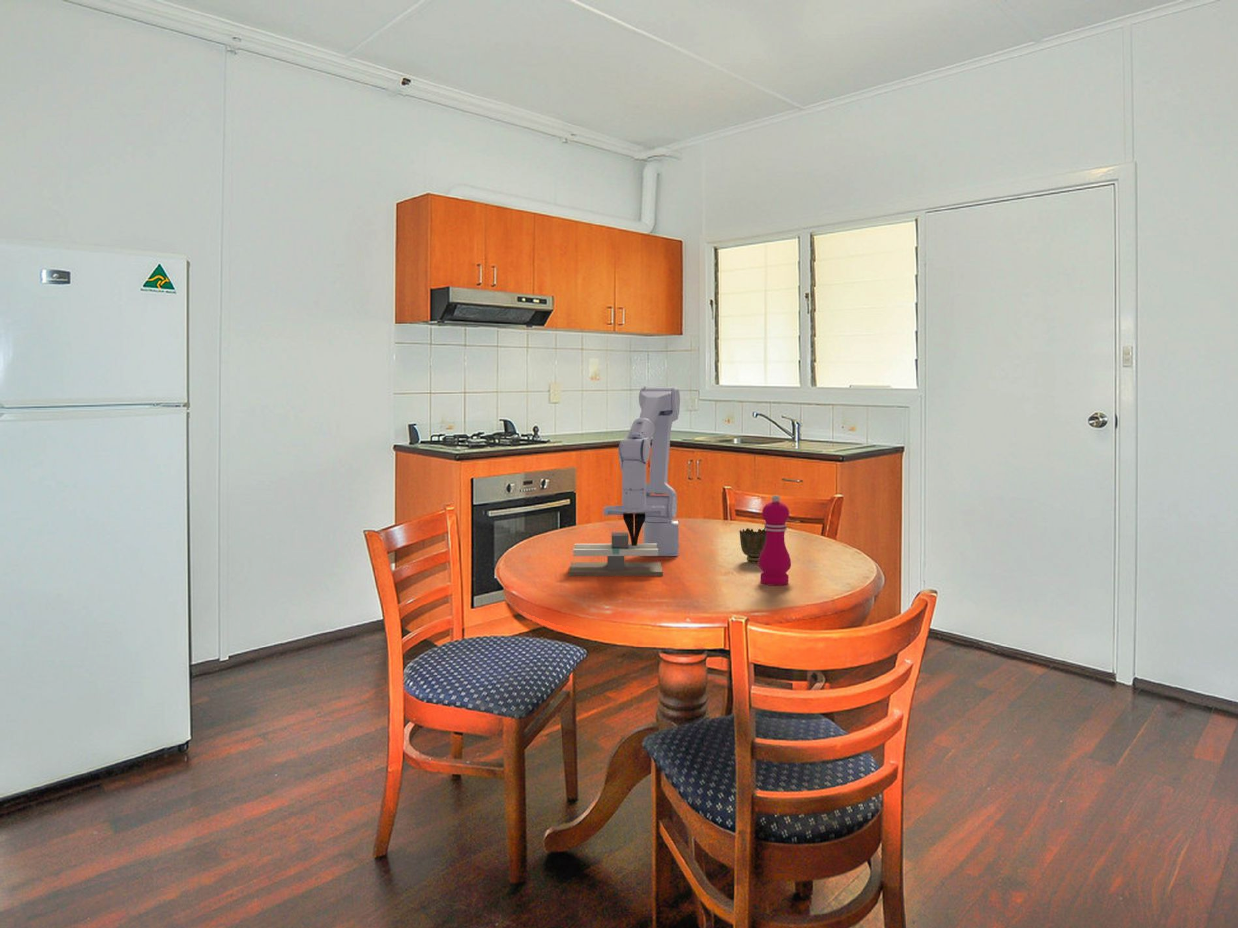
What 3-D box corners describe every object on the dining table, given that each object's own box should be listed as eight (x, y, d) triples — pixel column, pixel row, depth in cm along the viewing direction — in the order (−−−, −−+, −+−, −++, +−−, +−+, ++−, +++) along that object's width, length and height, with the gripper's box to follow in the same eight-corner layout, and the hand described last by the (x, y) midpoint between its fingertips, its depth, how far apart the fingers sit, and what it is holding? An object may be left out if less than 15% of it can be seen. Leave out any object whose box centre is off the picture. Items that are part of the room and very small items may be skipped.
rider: (628, 548, 190) (628, 532, 190) (628, 552, 186) (628, 535, 186) (611, 548, 190) (611, 532, 190) (611, 552, 186) (611, 535, 186)
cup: (770, 559, 200) (771, 528, 199) (766, 566, 193) (767, 534, 192) (741, 557, 203) (742, 527, 202) (736, 563, 196) (737, 532, 195)
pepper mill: (754, 578, 181) (756, 493, 179) (785, 577, 182) (787, 492, 180) (763, 586, 174) (764, 497, 172) (794, 585, 175) (796, 497, 173)
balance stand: (660, 565, 194) (660, 541, 193) (662, 575, 184) (662, 550, 183) (571, 566, 193) (570, 542, 193) (569, 576, 184) (568, 550, 183)
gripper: (603, 491, 182) (603, 548, 184) (665, 490, 183) (665, 548, 184) (603, 487, 189) (604, 542, 191) (663, 486, 190) (663, 542, 191)
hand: (634, 544), depth 188 cm, fingers closed
